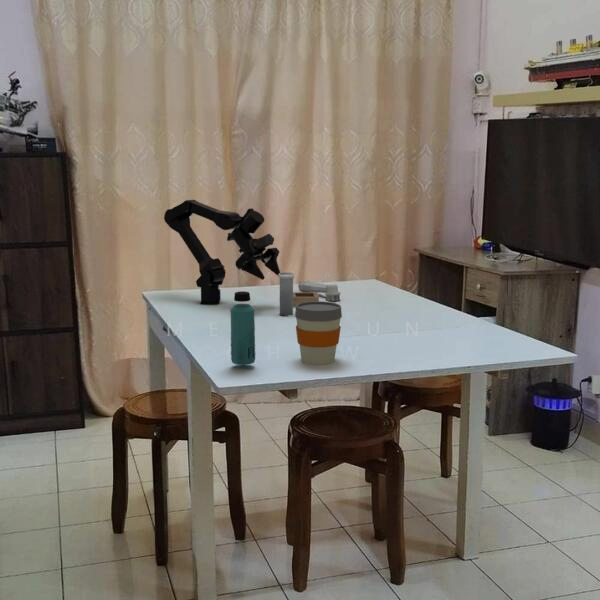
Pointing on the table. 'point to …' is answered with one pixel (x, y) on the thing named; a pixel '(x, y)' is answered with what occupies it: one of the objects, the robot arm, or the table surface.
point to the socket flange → (304, 297)
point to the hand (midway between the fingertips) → (271, 277)
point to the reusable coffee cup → (318, 331)
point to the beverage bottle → (242, 331)
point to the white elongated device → (321, 289)
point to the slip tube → (286, 293)
